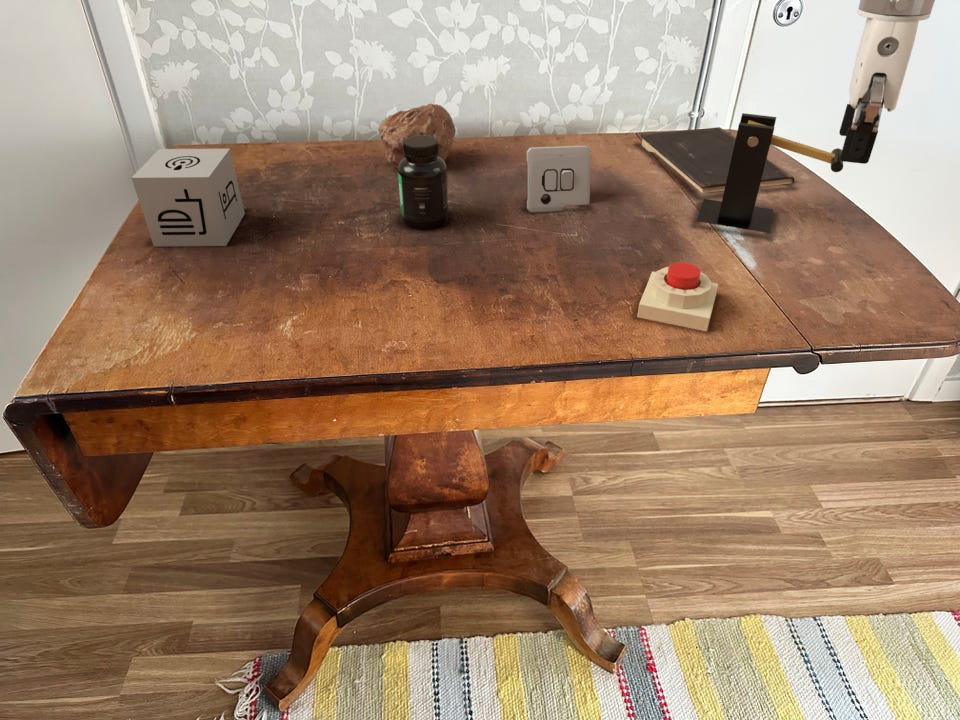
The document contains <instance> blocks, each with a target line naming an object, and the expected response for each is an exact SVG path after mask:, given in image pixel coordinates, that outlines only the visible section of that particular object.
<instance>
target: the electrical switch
mask: <svg viewBox="0 0 960 720" xmlns="http://www.w3.org/2000/svg"><path fill="white" fill-rule="evenodd" d="M591 150H592V149H591V148H590V147H589V146H588V145H564V146H562V145H561V146H537V147H536V146H535V147H529V148H528V149H527V150H526V162H527V199H526V209H527V211H528V212H529V213H548V212H549V213H550V212H562V211H563V210H564V209H565V207H566V206H584V205H586V206H587V205H590V199H591V197H590V196H591V159H592V158H591V157H592V151H591ZM545 196H547V198H546V200H545V201H544V200H543V197H545Z"/></svg>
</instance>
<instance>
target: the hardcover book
mask: <svg viewBox="0 0 960 720" xmlns="http://www.w3.org/2000/svg"><path fill="white" fill-rule="evenodd" d="M639 137H640V138H641V139H642V140H641V145H640V146H641V148H643V149H644V150H645V151H646V152H649V153H655V154H656V155H657V156H658V157H660V158H661V159H662V160H663V161H664V162H666V163H667V164H668V165H669V166H670V167H671V168H672V169H674V170H675V171H676V172H677V173H678V174H679V175H681V176H682V177H683V178H684V180H686V181H687V182H689V183H690V184H691V185H692V186H694V188H695V189H697V190H698V191H699V192H700V193H702V194H707V193H715V192H716V193H717V192H724V189H725V185H726V180H727V176H728V171H729V167H730V162H731V158H732V153H733V149H734V144H735V140H736V136H733V134H731V133H729V132H728V131H726V130H724V128H722V127H720V126H717V127H706V128H696V129H686V130H685V129H684V130H675V131H662V132H653V133H642V134H640V135H639ZM794 183H795V177H794V176H792V175H791V174H790V173H788V172H787V171H785V170H784V169H782V168H780V167H779V166H778V165H776V164H775V163H774V162H772V161H771V160H770V159H768V158H767V159H766V163H765V167H764V171H763V175H762V179H761V183H760V187H759V188H761V187H769V186H778V185H788V184H789V185H790V184H794Z"/></svg>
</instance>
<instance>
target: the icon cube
mask: <svg viewBox="0 0 960 720" xmlns="http://www.w3.org/2000/svg"><path fill="white" fill-rule="evenodd" d="M131 180H132V184H133V187H134V190H135V193H136V196H137V199H138V203H139V206H140V208H141V212H142V215H143V217H144V221H145V224H146V226H147V227H146V228H147V230H148V233H149V236H150V239H151V243H152V245H153V246H152V247H154V248H155V247H157V248H158V247H227V245H228V243H229V242H230V240H231V239H232V238H233V235H234V233H235V232H236V230H237V228H238V227H239V225H240V223H241V221H242V219H243V218H244V217H245V215H246V212H245V208H244V204H243V199H242V196H241V190H240V186H239V181H238V177H237V173H236V168H235V165H234V159H233V156H232V151H231V148H158V149H157V150H156V152H154V154H152V156H151V157H150V158H148V160H147V161H146V162H145V163H144V164H143V165H142V166H141V167H140V168H139V169H138V170H137V171H136V172H135V174H133V176H132V177H131Z"/></svg>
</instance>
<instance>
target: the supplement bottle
mask: <svg viewBox="0 0 960 720" xmlns="http://www.w3.org/2000/svg"><path fill="white" fill-rule="evenodd" d="M403 155H404V157H405V158H403V159H402V160H401V161H400V163H399V165H398V169H397V180H398V181H397V182H398V192H399V204H400V215H401V222H402V224H403V225H404V226H405V227H407V228H409V229H412V230H418V231H428V230H436V229H438V228H441V227H443V226H445V225H446V224H447V223H448V221H449V197H448V193H449V192H448V169H447V167H448V166H447V164H446V161H444V160H443V159H442V158H440V157H439V156H438V155H439V145H438V140H437V138H435V137H432V136H427V135H417V136H411V137H408V138H406V139H405V140H404V141H403Z"/></svg>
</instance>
